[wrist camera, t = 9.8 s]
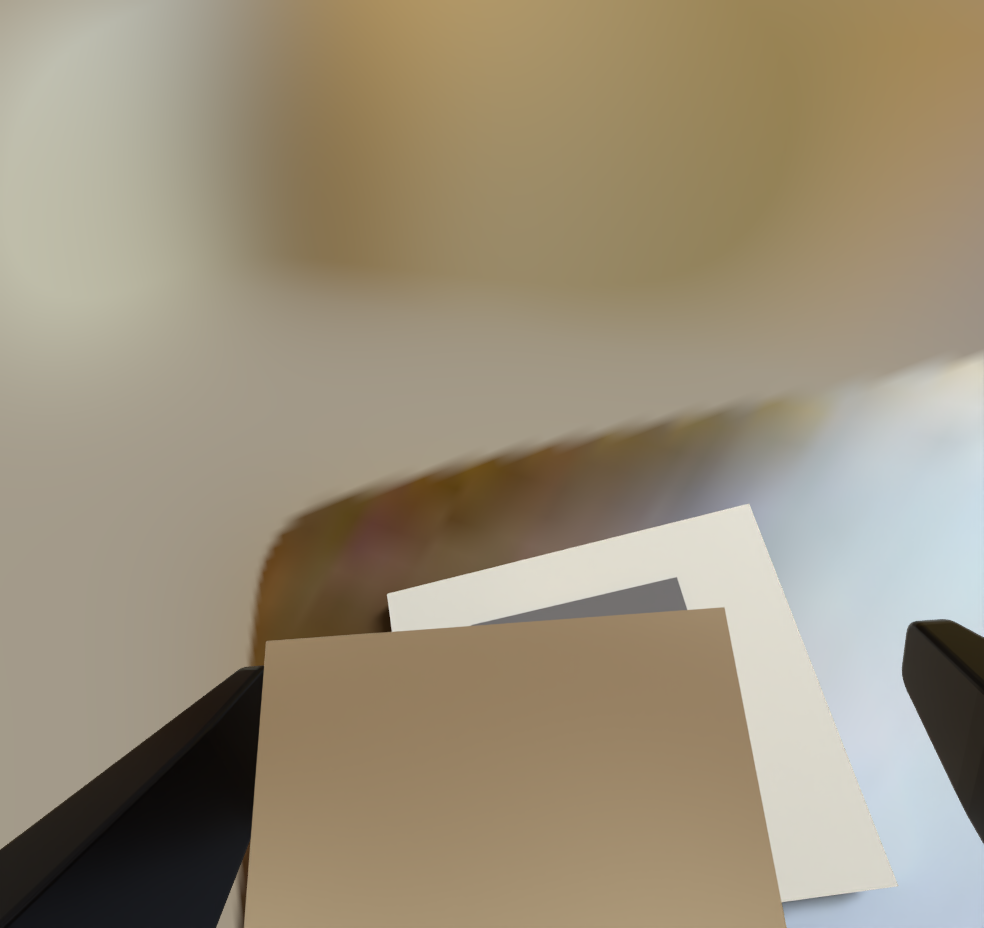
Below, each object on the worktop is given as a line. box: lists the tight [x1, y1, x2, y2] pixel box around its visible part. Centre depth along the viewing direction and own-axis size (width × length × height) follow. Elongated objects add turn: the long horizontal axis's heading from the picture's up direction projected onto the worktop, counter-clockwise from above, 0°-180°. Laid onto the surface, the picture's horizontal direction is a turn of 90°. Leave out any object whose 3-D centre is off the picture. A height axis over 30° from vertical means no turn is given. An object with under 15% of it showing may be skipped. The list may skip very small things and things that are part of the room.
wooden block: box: [244, 607, 786, 928], centre depth 9 cm, size 4×4×12 cm
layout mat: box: [387, 504, 898, 902], centre depth 15 cm, size 11×9×1 cm
